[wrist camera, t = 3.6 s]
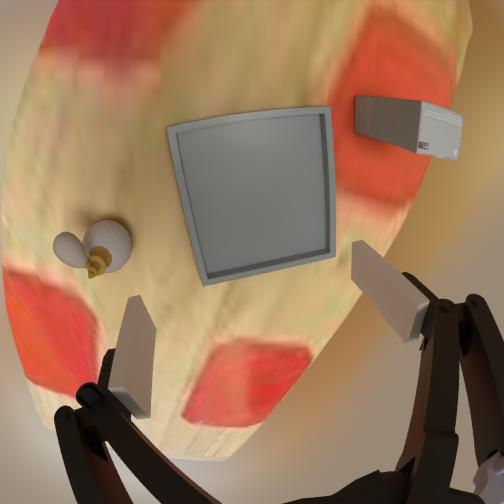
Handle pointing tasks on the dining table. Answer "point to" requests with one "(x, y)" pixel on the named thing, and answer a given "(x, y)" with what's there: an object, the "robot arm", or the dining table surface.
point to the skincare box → (410, 125)
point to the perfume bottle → (95, 248)
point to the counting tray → (257, 190)
